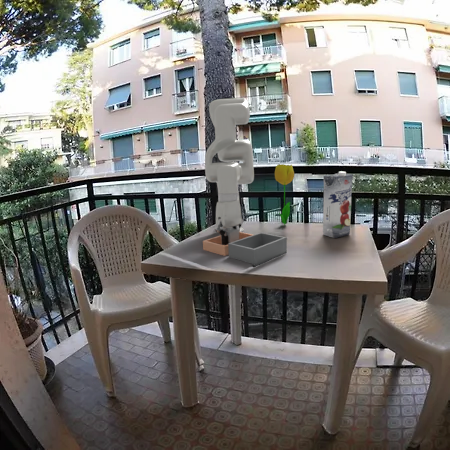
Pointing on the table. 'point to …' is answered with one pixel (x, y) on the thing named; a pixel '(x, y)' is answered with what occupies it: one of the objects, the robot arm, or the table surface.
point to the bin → (258, 248)
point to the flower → (284, 176)
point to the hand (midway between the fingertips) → (230, 242)
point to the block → (232, 235)
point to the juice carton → (337, 204)
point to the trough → (220, 244)
